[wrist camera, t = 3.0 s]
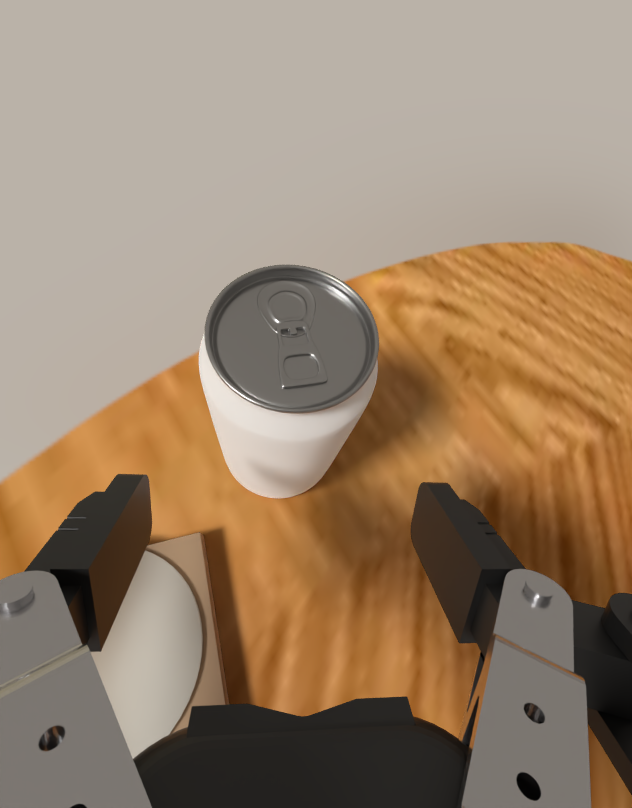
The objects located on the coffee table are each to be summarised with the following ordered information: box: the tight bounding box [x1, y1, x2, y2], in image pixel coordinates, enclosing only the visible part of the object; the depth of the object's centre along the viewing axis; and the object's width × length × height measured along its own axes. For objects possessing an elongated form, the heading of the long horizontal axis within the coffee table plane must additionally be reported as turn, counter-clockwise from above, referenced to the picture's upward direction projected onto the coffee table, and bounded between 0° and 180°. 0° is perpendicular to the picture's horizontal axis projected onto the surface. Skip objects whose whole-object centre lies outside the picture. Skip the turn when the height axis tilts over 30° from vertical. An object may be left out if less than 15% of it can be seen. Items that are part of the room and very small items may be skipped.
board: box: [91, 532, 229, 758], centre depth 17 cm, size 10×14×2 cm
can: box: [199, 265, 379, 498], centre depth 18 cm, size 6×6×12 cm
